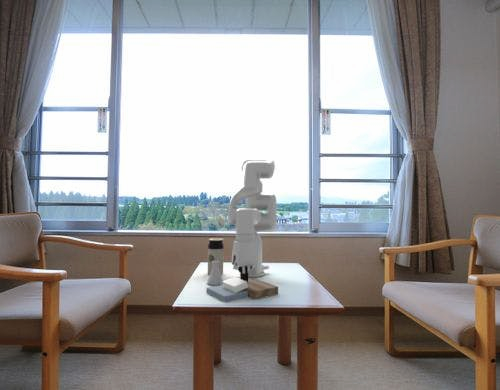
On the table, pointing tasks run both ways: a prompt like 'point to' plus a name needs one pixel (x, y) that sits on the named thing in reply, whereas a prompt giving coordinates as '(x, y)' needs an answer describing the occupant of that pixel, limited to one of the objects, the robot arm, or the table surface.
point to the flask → (215, 275)
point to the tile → (235, 284)
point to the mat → (226, 293)
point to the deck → (260, 289)
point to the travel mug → (215, 253)
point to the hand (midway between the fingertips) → (244, 282)
